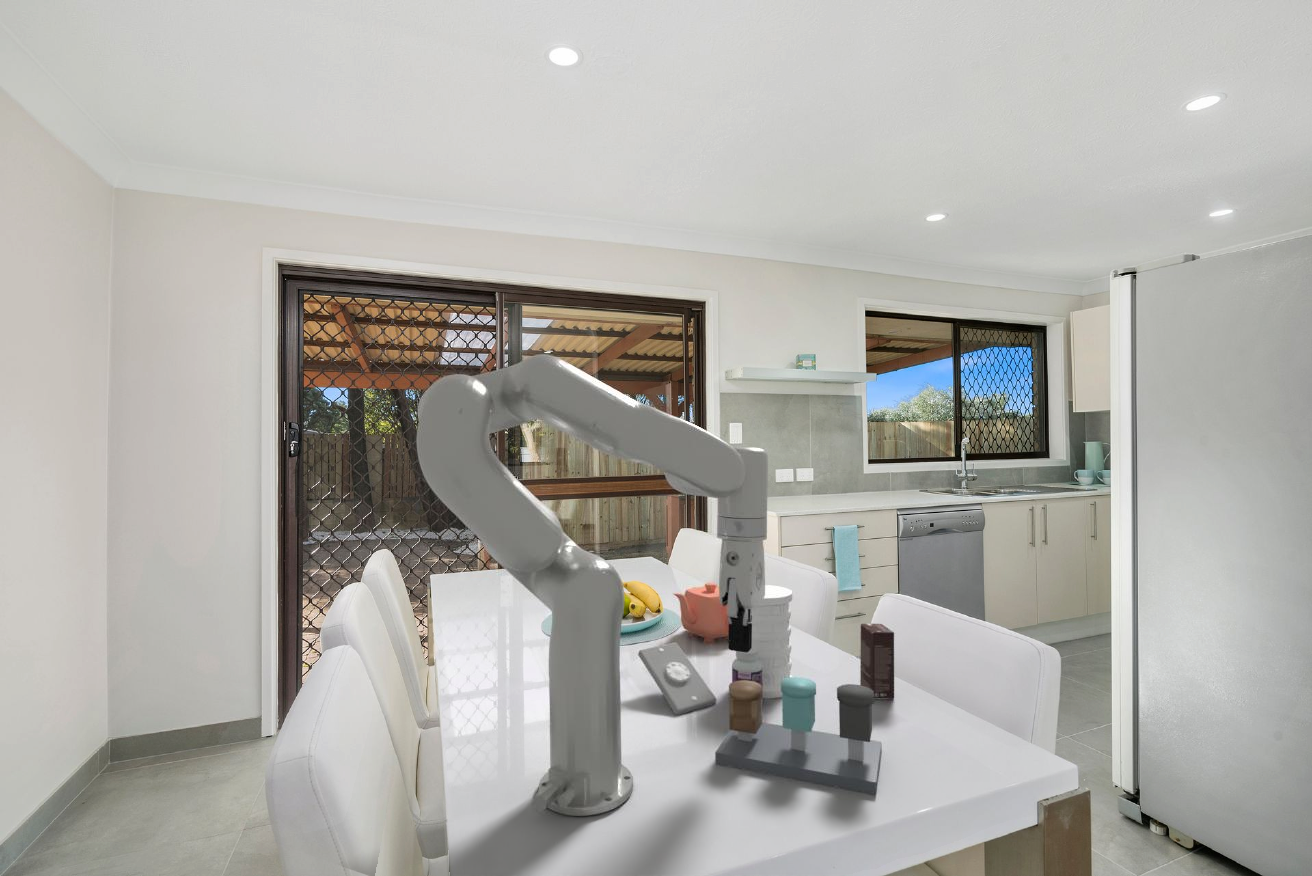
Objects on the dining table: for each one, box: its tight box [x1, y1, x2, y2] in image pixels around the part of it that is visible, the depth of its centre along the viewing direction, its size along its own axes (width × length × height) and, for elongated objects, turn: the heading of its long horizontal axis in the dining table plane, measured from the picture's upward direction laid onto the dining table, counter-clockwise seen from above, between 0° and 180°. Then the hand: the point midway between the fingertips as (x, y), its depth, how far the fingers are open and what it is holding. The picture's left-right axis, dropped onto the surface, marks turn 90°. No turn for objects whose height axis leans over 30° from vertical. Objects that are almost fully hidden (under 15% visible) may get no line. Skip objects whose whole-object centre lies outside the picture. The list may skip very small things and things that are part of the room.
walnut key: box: [728, 680, 763, 734], centre depth 95 cm, size 5×5×6 cm
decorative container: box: [748, 584, 794, 699], centre depth 119 cm, size 12×12×18 cm
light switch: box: [637, 642, 717, 716], centre depth 115 cm, size 8×6×14 cm
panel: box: [714, 721, 883, 795], centre depth 92 cm, size 12×22×6 cm, turn 67°
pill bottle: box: [731, 647, 764, 703], centre depth 111 cm, size 5×5×10 cm
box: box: [859, 623, 895, 701], centre depth 115 cm, size 6×4×12 cm
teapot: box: [672, 582, 729, 645], centre depth 151 cm, size 15×17×13 cm
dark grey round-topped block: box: [836, 683, 875, 742], centre depth 89 cm, size 5×5×6 cm
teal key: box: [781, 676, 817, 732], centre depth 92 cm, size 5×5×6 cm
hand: (739, 649), depth 95 cm, fingers closed
